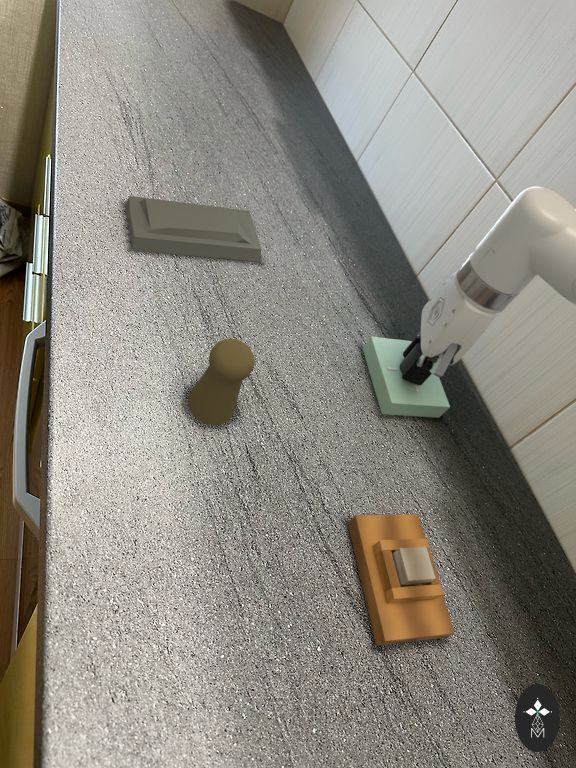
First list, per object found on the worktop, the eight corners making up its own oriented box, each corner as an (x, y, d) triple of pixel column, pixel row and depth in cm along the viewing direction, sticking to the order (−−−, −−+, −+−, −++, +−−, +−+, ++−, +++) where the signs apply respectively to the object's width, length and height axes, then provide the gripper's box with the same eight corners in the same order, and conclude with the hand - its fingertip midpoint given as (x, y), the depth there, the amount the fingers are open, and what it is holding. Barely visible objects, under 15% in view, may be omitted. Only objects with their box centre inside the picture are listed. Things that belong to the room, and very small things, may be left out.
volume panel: (416, 354, 92) (426, 342, 90) (439, 417, 86) (451, 406, 83) (362, 348, 88) (371, 335, 86) (381, 414, 82) (392, 402, 79)
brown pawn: (192, 426, 69) (216, 373, 61) (183, 385, 72) (204, 329, 64) (239, 423, 72) (267, 372, 64) (228, 383, 75) (254, 330, 67)
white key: (418, 552, 66) (426, 546, 65) (427, 583, 64) (436, 578, 63) (391, 553, 65) (399, 547, 64) (400, 585, 63) (408, 580, 62)
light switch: (409, 520, 73) (426, 508, 70) (444, 637, 65) (464, 629, 62) (347, 522, 69) (362, 509, 66) (375, 646, 62) (393, 637, 59)
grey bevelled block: (259, 261, 92) (266, 245, 89) (132, 250, 83) (135, 231, 80) (246, 218, 97) (252, 201, 94) (124, 203, 88) (128, 184, 86)
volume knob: (400, 357, 86) (416, 337, 82) (421, 366, 86) (438, 347, 83) (398, 375, 83) (415, 355, 80) (420, 384, 84) (438, 364, 80)
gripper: (458, 232, 76) (391, 322, 89) (462, 316, 65) (385, 404, 78) (507, 254, 77) (433, 339, 90) (519, 340, 66) (433, 422, 80)
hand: (411, 368), depth 84 cm, fingers closed on volume knob, 3 cm apart
